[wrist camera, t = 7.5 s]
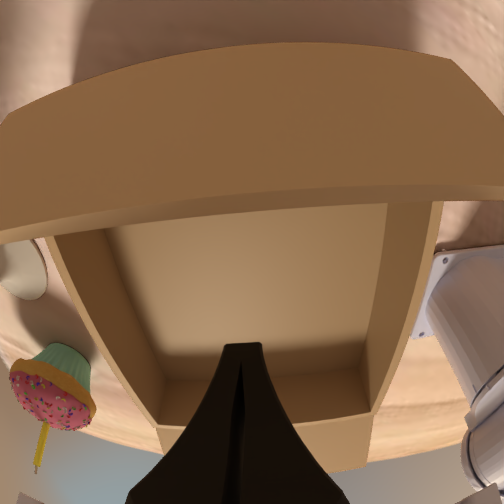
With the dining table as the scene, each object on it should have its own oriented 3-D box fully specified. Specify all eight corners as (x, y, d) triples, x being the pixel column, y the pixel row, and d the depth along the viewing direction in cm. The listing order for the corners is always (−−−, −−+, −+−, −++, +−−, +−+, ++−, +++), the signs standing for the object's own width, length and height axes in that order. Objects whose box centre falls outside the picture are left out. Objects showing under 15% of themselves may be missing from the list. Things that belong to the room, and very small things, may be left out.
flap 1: (-52, 254, 6) (-62, 246, 5) (14, 122, 8) (8, 113, 8) (543, 201, 5) (552, 189, 4) (448, 70, 8) (451, 59, 7)
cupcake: (115, 392, 26) (87, 497, 16) (47, 373, 25) (10, 464, 15) (96, 337, 22) (46, 468, 11) (19, 317, 21) (-39, 421, 11)
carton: (396, 69, 12) (452, 71, 8) (362, 365, 23) (376, 414, 19) (69, 106, 13) (11, 123, 8) (163, 378, 24) (153, 427, 20)
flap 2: (365, 466, 20) (364, 462, 20) (373, 414, 19) (371, 411, 20) (172, 477, 20) (173, 473, 21) (155, 427, 20) (157, 424, 20)
